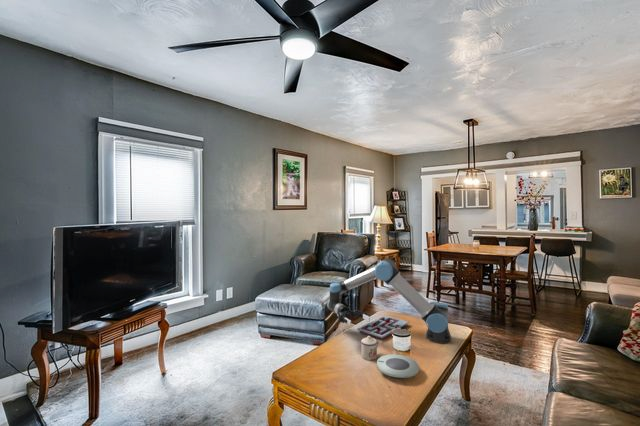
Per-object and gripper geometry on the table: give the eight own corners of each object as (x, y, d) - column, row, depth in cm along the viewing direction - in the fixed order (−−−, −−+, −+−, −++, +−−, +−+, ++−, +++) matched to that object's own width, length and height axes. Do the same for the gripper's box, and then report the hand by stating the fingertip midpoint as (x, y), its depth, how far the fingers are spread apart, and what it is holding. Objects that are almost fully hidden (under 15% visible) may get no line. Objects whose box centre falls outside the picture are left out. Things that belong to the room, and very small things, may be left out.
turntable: (419, 360, 166) (419, 357, 166) (418, 381, 146) (418, 377, 146) (379, 354, 173) (379, 351, 173) (374, 373, 153) (374, 370, 153)
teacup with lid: (370, 362, 170) (370, 341, 169) (357, 356, 176) (357, 336, 176) (383, 355, 177) (383, 335, 177) (371, 349, 184) (371, 330, 184)
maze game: (381, 341, 196) (381, 336, 196) (357, 333, 210) (357, 328, 210) (408, 326, 221) (408, 321, 221) (385, 319, 235) (385, 315, 235)
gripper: (357, 313, 210) (376, 324, 191) (325, 319, 199) (342, 331, 180) (357, 302, 210) (376, 312, 191) (325, 307, 199) (342, 318, 180)
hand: (360, 321), depth 186 cm, fingers open, 13 cm apart
